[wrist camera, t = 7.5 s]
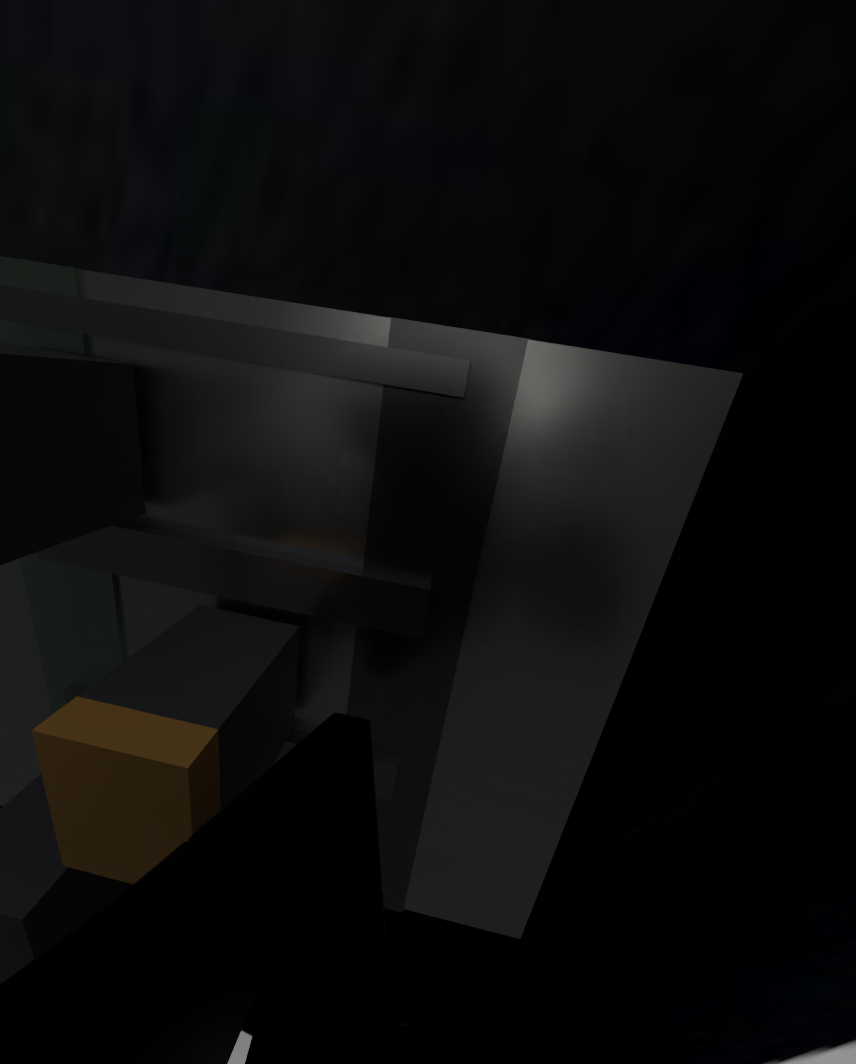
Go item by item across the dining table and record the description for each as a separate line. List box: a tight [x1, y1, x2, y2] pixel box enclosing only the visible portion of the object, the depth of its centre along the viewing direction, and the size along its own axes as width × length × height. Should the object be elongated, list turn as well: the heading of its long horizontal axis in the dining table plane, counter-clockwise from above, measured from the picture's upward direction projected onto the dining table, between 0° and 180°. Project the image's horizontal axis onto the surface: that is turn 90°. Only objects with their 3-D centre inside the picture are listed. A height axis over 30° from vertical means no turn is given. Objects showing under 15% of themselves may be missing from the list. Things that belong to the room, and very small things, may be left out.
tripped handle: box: [31, 605, 300, 884], centre depth 8 cm, size 2×3×4 cm
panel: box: [0, 256, 743, 939], centre depth 10 cm, size 18×16×1 cm
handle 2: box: [0, 774, 133, 984], centre depth 10 cm, size 2×3×4 cm
